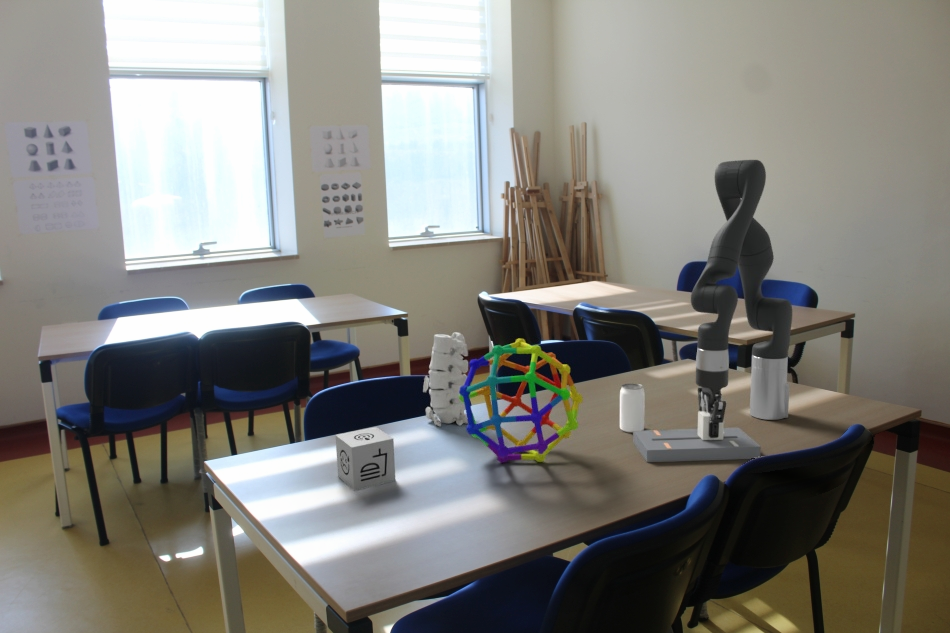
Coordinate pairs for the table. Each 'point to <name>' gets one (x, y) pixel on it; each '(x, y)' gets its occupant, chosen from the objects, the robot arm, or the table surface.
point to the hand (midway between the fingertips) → (710, 433)
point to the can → (632, 407)
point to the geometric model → (536, 416)
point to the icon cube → (365, 458)
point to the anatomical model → (447, 379)
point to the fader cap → (707, 427)
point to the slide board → (694, 445)
